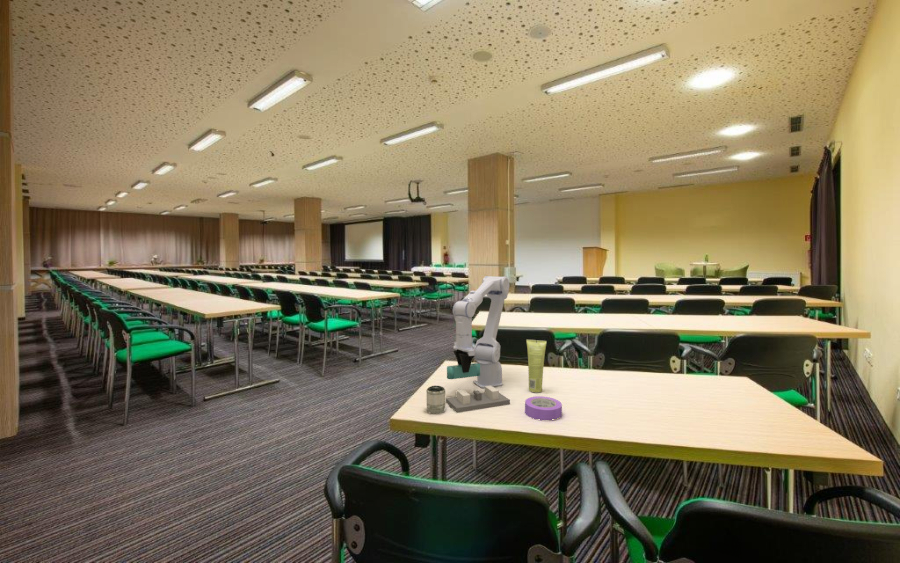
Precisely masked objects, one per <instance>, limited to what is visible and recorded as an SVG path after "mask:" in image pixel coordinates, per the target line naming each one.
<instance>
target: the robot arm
mask: <svg viewBox="0 0 900 563" xmlns="http://www.w3.org/2000/svg"><path fill="white" fill-rule="evenodd" d="M510 286H511V284H510V281H509V278H508V277H507V276H491V275H486V276H484V277H483V278H482V281H481V284H480V285H479V286H478V288H477V289H476V290H470V291H469V293H468V294H467V295H466V296H465V297H464V298H463V299H461V300H458V301H456V302H455V303H454V305H453V308H452V314H453V317H454V322H455V341H454V342H453V346H452V349H454V350H453V351H452V352H453V354H454V356H455V358H456V361H457V362H456V363H457V365H462V371H463V373H467V372H469V369H470V365H471V364H472V361H473V359H474V360H475V363H479V364H480V376H476V377H477V378H476V379H477V380H473V383H474V384H475V385H477V386H478V387H480V388H481V389H485V386H492V387H499V386H503V385H504V384H503V369H502V368H503V367H502V364H501V362H500V361H499V360H500V358H501V345H500V342H498V341H497V335H498V331H499V326H500V322H501V317H502V316H501V315H502V312H503V309H504V303H505V300H506V299H508V295H509V293H510V292H509V291H510ZM485 296H486V297H488V298H489V299H490V301H491V302H490V306H489V310H488V314H487V319H486V323H485V327H484V331H483V336H482V337H480V338H478V339H477V340H476V343H475V346H474V347H473V344H472V343H473V342H472V341H473V340H472V339H473V336H472V334H473V332H472V330H473V329H472V328H473V324H472V323H473V321H472V320H473V318H472V317H474V315H475V313H476V310H477V308H478V307H479V306H480V305H481V304H482V302H483V299H484V297H485Z"/></svg>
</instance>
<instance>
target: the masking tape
mask: <svg viewBox="0 0 900 563" xmlns="http://www.w3.org/2000/svg"><path fill="white" fill-rule="evenodd" d="M562 411H563V404H562V402H561V401H559V400H558V399H556V398H553V397H550V396H549V397H548V396H540V395H539V396H536V395H535V396H531V397H528V398H526V399H525V400H524V414H525V413H526V414H525V416H527V417H529V418H530V417H531V419H533V418H534V420H536V419H540V420H539V421H542V420H552V419H557V418H559V417H561V418H562V416H561V415H562V414H563V413H562ZM559 419H560V418H559ZM557 420H558V419H557ZM552 421H553V420H552Z"/></svg>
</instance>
